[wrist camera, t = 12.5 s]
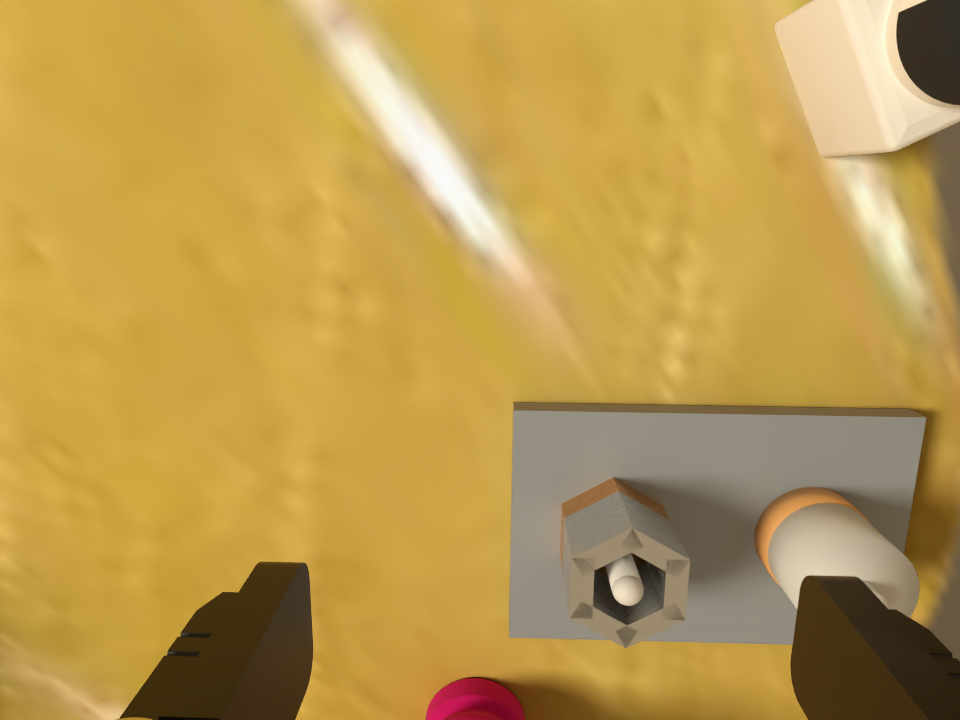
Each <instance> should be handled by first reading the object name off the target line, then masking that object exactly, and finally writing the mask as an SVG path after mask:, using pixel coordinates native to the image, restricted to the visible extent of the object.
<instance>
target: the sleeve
mask: <svg viewBox="0 0 960 720" xmlns="http://www.w3.org/2000/svg"><path fill="white" fill-rule="evenodd" d="M629 553H632V556H633V559H634V562H635V564H636V567H637V570H638V573H639V576H640V579H641V581H642V584H643V588H644V593H643V597H642V599H641V600H640V601H639V602H638V603H637V604H635V605H632V606H626V605H622V604H620V603H619V602H618V601H617V600H616V599H615V598H614V596H613V593H612V589H611V586H610V582H609V578H608V575H607V571H606V567H605V565H607V564H609V563H611V562H613V561H615V560H617V559H619V558H621V557H623V556H625V555H627V554H629ZM560 560H561V567H562V573H563V579H564V586H565V592H566V598H567V604H568V611H569V617H570V619H572V620H574V621H576V622H578V623H580V624H582V625H583V626H585V627H587V628H589V629H591V630H593V631H595V632H596V633H598V634H600V635H602V636H604V637H606V638H608V639H609V640H611V641H613V642H615V643H617V644H619V645H621V646H622V647H624V648H627V647H630V646H632V645H634V644H636V643H638V642H640V641H642V640H644V639H647V638H649V637H651V636H653V635H655V634H657V633H659V632H662V631H664V630H666V629H668V628H670V627H672V626H674V625H676V624H679V623H681V622H683V621H685V619H686V606H687V594H688V581H689V569H690V559H689V557H688V555H687V553H686V551H685V549H684V547H683V545H682V543H681V541H680V539H679V537H678V535H677V533H676V531H675V529H674V527H673V525H672V523H671V521H670V519H669V517H668V515H667V513H666V511H665V509H664V507H663V505H661V504H660V503H658V502H656V501H654V500H652V499H651V498H649V497H647V496H645V495H644V494H642V493H640V492H638V491H636V490H635V489H633V488H631V487H629V486H628V485H626V484H624V483H622V482H621V481H619V480H617V479H615V478H611V479H609V480H607V481H605V482H603V483H601V484H599V485H597V486H595V487H593V488H591V489H589V490H587V491H585V492H583V493H582V494H580V495H578V496H576V497H574V498H572V499H570V500H568V501H566V502H564V503H562V505H561V536H560Z"/></svg>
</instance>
